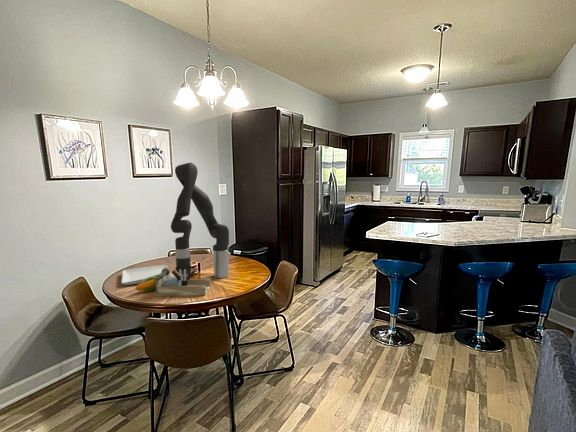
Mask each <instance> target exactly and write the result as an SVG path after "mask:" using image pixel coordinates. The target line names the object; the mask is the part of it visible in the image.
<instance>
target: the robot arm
mask: <svg viewBox="0 0 576 432" xmlns="http://www.w3.org/2000/svg"><path fill="white" fill-rule="evenodd" d="M174 173H175V177H176V178H177V180H178V181H179V182H180V184H181V185H182V190H181V192H180V193H179V195H178V198H177V200H176V207H175V208H176V209H175V210H176V211H175V213H174V215H173V218H172V220H171V223H170V229H171V232H173V233H174V234H183V235H182V236H179V237H176V238H175V243H174V244H175V255H174V256H175V269H174V270H172V271H171V275H173V277H176V278H177V279H178V280H181V282H182V286H187V285H188V282H187V280H189V279H192V277H193V275H194V274H195V273H196V271H197V270H196V269H193V267H192V265H191V264H192V263H191V262H192V261H191V249H190V236H191V232H192V223H191V221H190V220H189V219H183V218H185V217H188V216H190V211H191V203H193V204H194V207H195V208H196V210H197V211H198V213H199V214H200V216H201V218H202V219H203V222H204V223H205V226H206V228H207V231H208V232H209V235H210V236H211V237H212V238H213V239H216V242H215V244H213V246H212V258H213V259H212V260H213V277H214V278H215V279H225V278H228V277H229V275H230V274H229V273H230V271H229V267H230V266H229V244H230V229H229V228H228V226H227V225H225V224H220V223H219V221H217V219H216V217H215V214H214V206H213V203H212V201H211V200H210V197H209V195H208V194H207V193H205V192H204V191H203V189H201V188H199V187H198V186H197V185H196V181H197V179H198V177H197V176H198V167H197V165H196V164H195V163H194V162H186V163H182V164H179V165H177V166H175V169H174ZM191 201H192V202H191Z"/></svg>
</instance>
